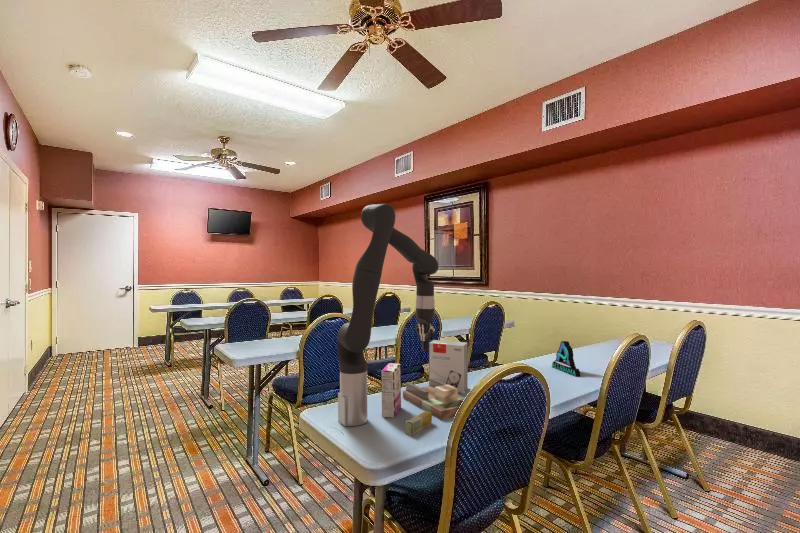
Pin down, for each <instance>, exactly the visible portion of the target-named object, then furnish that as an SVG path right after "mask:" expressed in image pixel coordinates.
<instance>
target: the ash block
mask: <svg viewBox="0 0 800 533" xmlns="http://www.w3.org/2000/svg"><path fill="white" fill-rule="evenodd" d="M458 393H459V392H458V389H457V388H455V387H452V386H450V385H443V386H438V387H435V399H436V400H438V401H440V402H442V403H444V404H446V403H451V402H455V401H458V395H459V394H458Z"/></svg>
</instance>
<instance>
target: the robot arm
mask: <svg viewBox="0 0 800 533" xmlns="http://www.w3.org/2000/svg"><path fill="white" fill-rule="evenodd" d="M360 219H361V223H362V225H363V226H364V227H365V228H366V229H367V230H369V231H371V232H372V235H371V239H370V241H369V244H368V246H367V247H366V248H365V249H364V251H363V253H362V254H361V256H360V257H359V259H358V261H357V263H356V265H355V268H354V273H353V276H352V284H351V285H352V286H351V290H352V293H351V294H352V313H351V316H350V320H349V321H348V322H346V323H343V325H342V326H341V327H340V328H339V330H338V332H337V337H336V338H337V343H336V344H337V345H336V346H337V360H338V361H337V362H338V365H339V392H338V393H337V421H338V422H339V423H340V424H341V425H342V426H343V427H357V426H358V427H359V426H361V425H364V424H366V423H367V422H368V416H369V415H368V363H367V362H368V361H367V360H366V357H365V354H364V351H365V350H366V349H367V347H368V346H369V343H370V341H371V336H372V326H373V324H372V323H373V316H374V315H373V314H374V310H375V306H376V301H377V296H378V291H379V287H380V283H381V278H382V273H383V267H384V264H385V258H386V254H387V250H388V246H389V245H390V246H391V247H392V248H393V249H395V250H396V251H397V252H398V253H400V255H401V256H402V257H403V258H404V259H405V260H406V261H407V262H409V263H411V264H412V265H411V267H412V273H413V278H414V282H415V284H416V285H415V286H416V290H415V291H416V294H415V295H416V297H415V319H416V320H418V321H417V324H415V325H414V330H415V333H416V334H417V338H418V339H419V340H420V341H421V351H423V352H427V351H428V352H429V343H430V342H431V341H433V340H434V338H435V335H436V332H437V328H434V326H433V325H434V322H433V320H434V319H436V318H435V314H436V313H435V307H436V306H435V304H436V303H435V283H434V281H432V280H429V279H428V278H427V276H426V275H430V276H431V275H434V274H436V273H437V272H438V271H439V268H440V267H439V262H438V260H437V259H436V257H435V256H433V255H432V254H431V253H429V252H428V251H426V250H424V249H423V248H421V247H420V246H419V245H418V244H417V243H416V241H414V240H413V239H412V238H411V237H410V236H408V235H407V234H405V233H403V232H401V231H400V230H398V229H397V228H395V227H394V226H395V224H396V212H395V208H394V207H393V205H391V204H389V203H377V204H376V203H375V204H374V203H373V204H368V205H366V206H364V207H363V209H362V210H361V213H360Z"/></svg>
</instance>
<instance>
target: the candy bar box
mask: <svg viewBox="0 0 800 533" xmlns="http://www.w3.org/2000/svg"><path fill="white" fill-rule="evenodd" d="M380 374H381V375H380V376H381V379H380V380H381V382H380V383H381V385H380V386H381V387H380V388H381V418H388V419H389V418H392V419H396V417H397V415H398V413H399V412H400V409H401V408H402V395H401V394H402V390H401V388H402V387H401V363H395V362H394V363H392V362H389V363H387V364H386V366H385V367H384V368H383V369H382V370H381V372H380Z"/></svg>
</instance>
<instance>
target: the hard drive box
mask: <svg viewBox="0 0 800 533" xmlns="http://www.w3.org/2000/svg"><path fill="white" fill-rule="evenodd" d="M468 346H469V344H468V342H465V341H455V340H454V341H452V340H439V339H438V340H437V339H432V340H430V341H429V342H428V386H430V379H431V378H434V379H436V380H439V381H441V382H443V383H446V384H448V385H450V386H453V387H455V388H457V389H458V393H461V394H464V393H465V392H466V391H467V390H468V380H469V379H468V375H469V374H468V366H469V365H468V364H469V363H468V362H469V361H468V359H469V358H468V357H469V356H468V355H469V352H468V350H469V348H468Z"/></svg>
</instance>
